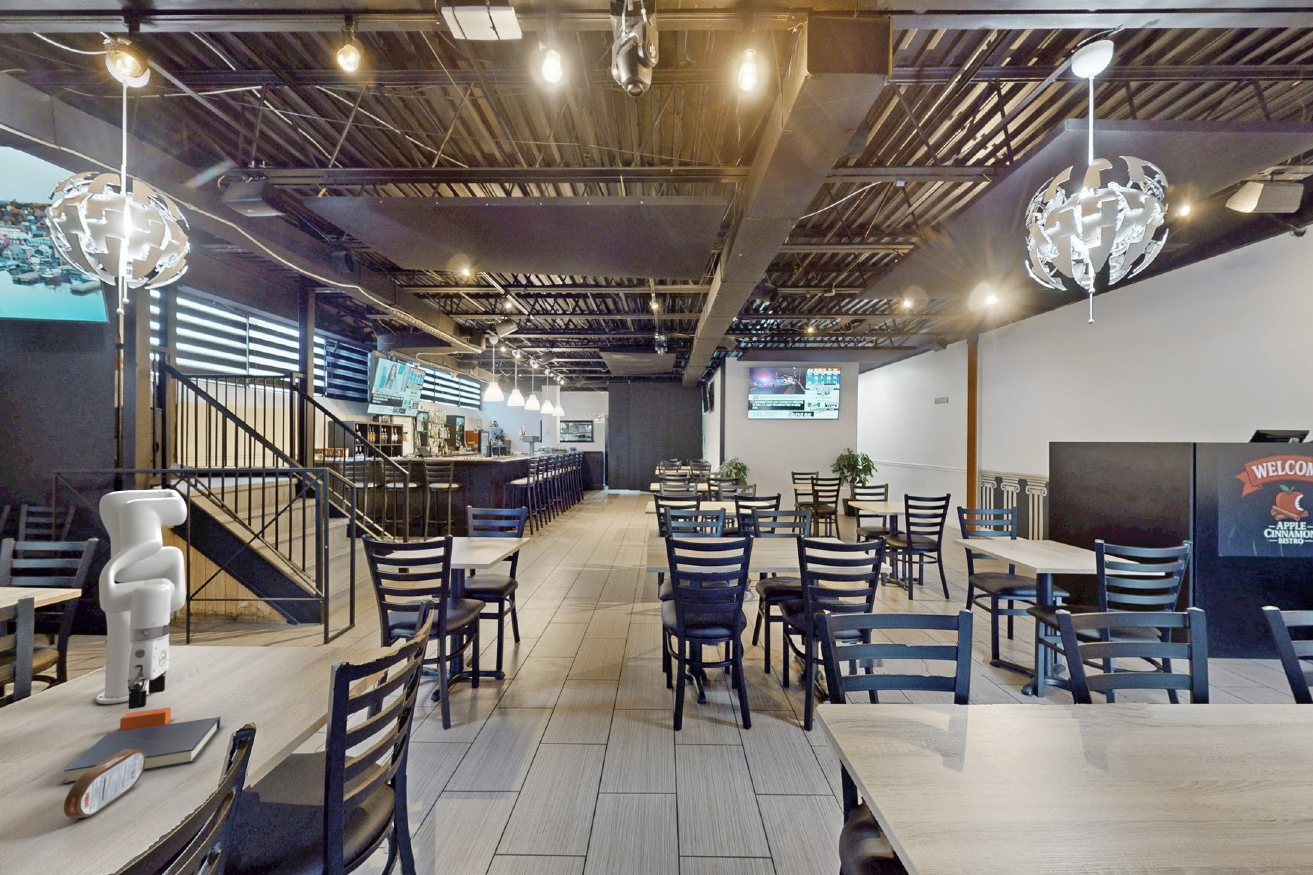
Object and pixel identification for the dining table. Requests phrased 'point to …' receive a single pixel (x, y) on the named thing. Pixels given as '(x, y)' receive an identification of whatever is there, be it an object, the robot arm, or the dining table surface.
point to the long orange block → (145, 719)
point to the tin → (104, 783)
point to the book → (150, 745)
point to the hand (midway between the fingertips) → (147, 699)
